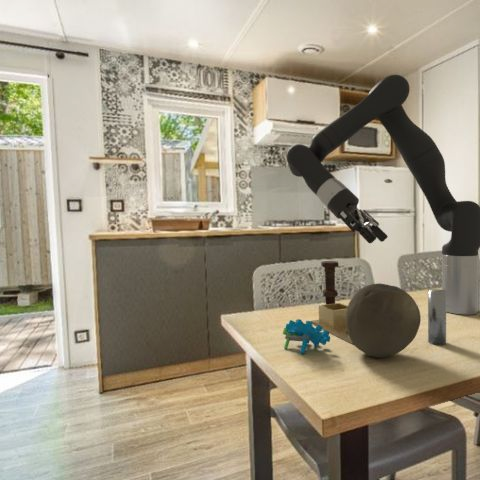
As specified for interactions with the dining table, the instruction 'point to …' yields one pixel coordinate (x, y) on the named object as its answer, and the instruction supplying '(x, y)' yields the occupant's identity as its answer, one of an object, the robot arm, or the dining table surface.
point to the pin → (437, 317)
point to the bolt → (330, 281)
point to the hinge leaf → (333, 320)
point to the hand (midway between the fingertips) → (379, 240)
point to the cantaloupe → (382, 320)
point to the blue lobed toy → (305, 334)
